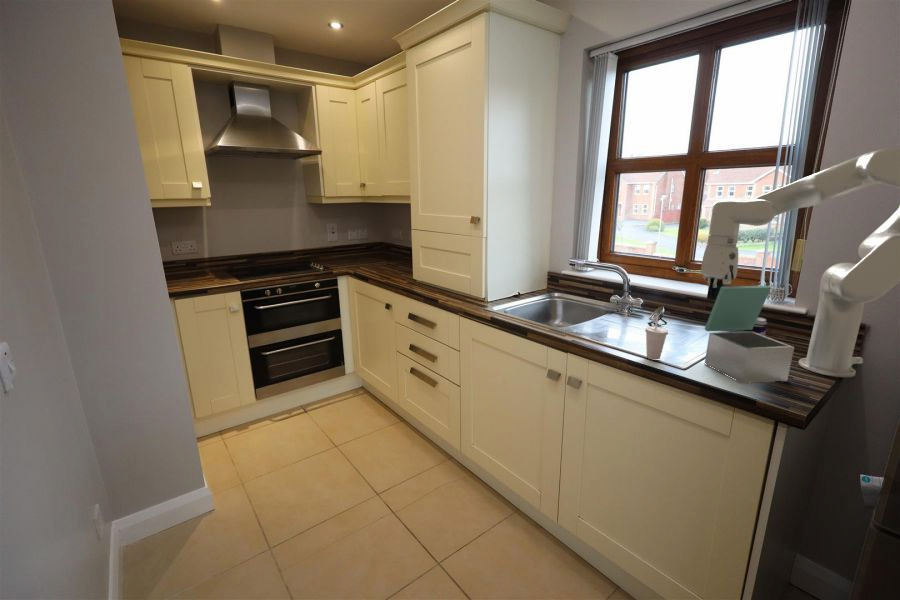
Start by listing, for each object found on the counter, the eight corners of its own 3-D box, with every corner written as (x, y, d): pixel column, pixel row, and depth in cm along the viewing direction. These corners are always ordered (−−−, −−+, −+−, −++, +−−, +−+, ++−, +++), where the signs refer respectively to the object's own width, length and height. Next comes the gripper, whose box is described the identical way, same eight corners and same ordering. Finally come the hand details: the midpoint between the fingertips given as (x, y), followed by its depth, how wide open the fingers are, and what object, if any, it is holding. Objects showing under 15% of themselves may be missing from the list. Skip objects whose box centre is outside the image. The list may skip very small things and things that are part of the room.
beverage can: (737, 353, 134) (744, 318, 132) (741, 349, 138) (748, 315, 135) (759, 358, 130) (766, 322, 128) (762, 354, 134) (769, 318, 132)
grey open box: (745, 361, 128) (751, 331, 125) (787, 381, 114) (794, 347, 112) (704, 363, 126) (709, 332, 124) (741, 383, 113) (747, 349, 110)
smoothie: (657, 354, 133) (663, 313, 130) (668, 362, 127) (674, 318, 124) (638, 354, 133) (643, 313, 130) (648, 362, 127) (653, 318, 124)
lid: (752, 329, 126) (746, 325, 128) (771, 287, 119) (765, 284, 121) (707, 331, 124) (702, 327, 126) (724, 288, 117) (718, 285, 119)
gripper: (753, 243, 120) (742, 304, 124) (715, 239, 135) (707, 293, 139) (729, 244, 119) (719, 305, 124) (694, 239, 134) (686, 294, 138)
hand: (713, 299), depth 131 cm, fingers closed
